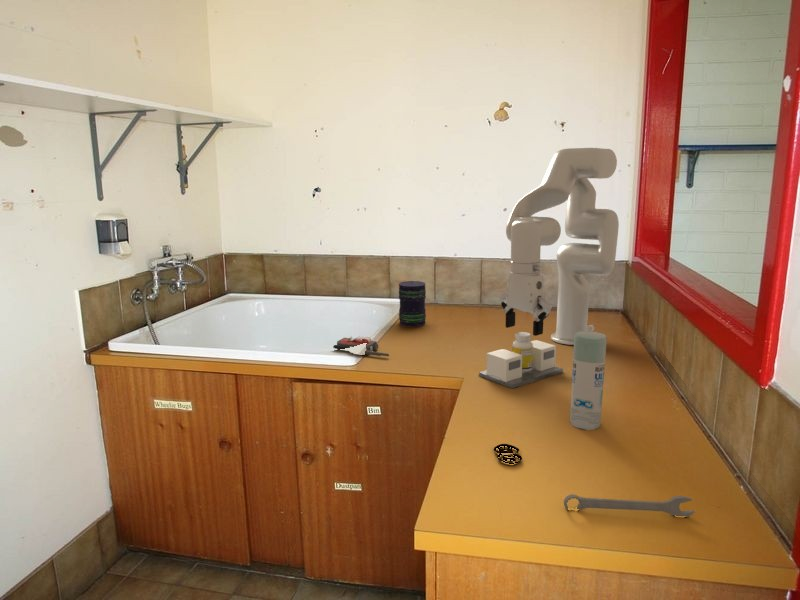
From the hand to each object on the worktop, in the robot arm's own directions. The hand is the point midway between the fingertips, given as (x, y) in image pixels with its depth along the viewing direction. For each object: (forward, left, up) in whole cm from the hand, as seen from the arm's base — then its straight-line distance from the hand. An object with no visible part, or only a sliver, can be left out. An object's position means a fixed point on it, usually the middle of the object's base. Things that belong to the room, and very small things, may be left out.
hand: (523, 330), depth 153 cm
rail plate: (+1, 0, -12) cm, 12 cm away
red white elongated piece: (+23, -43, -13) cm, 51 cm away
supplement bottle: (0, 0, -11) cm, 11 cm away
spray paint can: (+14, +30, -12) cm, 35 cm away
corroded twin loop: (+38, +30, -13) cm, 50 cm away
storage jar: (-9, -61, -12) cm, 63 cm away
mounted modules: (+1, 0, -11) cm, 11 cm away
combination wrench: (+36, +55, -13) cm, 67 cm away
